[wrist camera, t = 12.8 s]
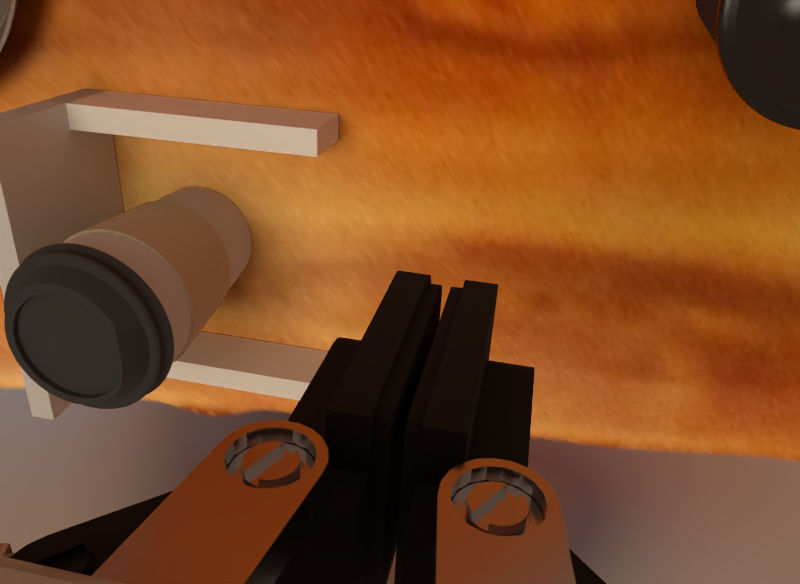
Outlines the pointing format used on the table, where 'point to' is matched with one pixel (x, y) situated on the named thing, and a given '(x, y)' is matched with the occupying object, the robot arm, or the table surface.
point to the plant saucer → (7, 19)
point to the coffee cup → (124, 297)
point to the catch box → (101, 200)
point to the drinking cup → (759, 53)
